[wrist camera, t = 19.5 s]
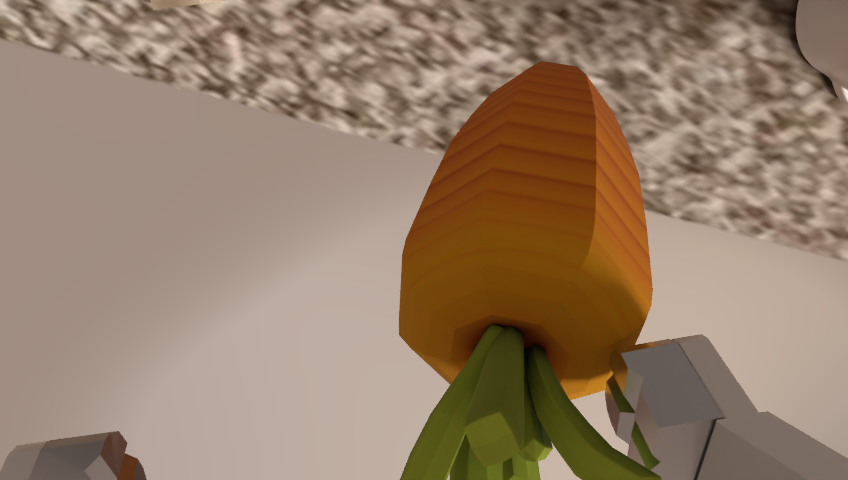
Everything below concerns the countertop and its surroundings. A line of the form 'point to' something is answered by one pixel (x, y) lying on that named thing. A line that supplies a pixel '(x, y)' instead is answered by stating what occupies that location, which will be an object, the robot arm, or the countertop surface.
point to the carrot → (526, 282)
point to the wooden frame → (178, 3)
